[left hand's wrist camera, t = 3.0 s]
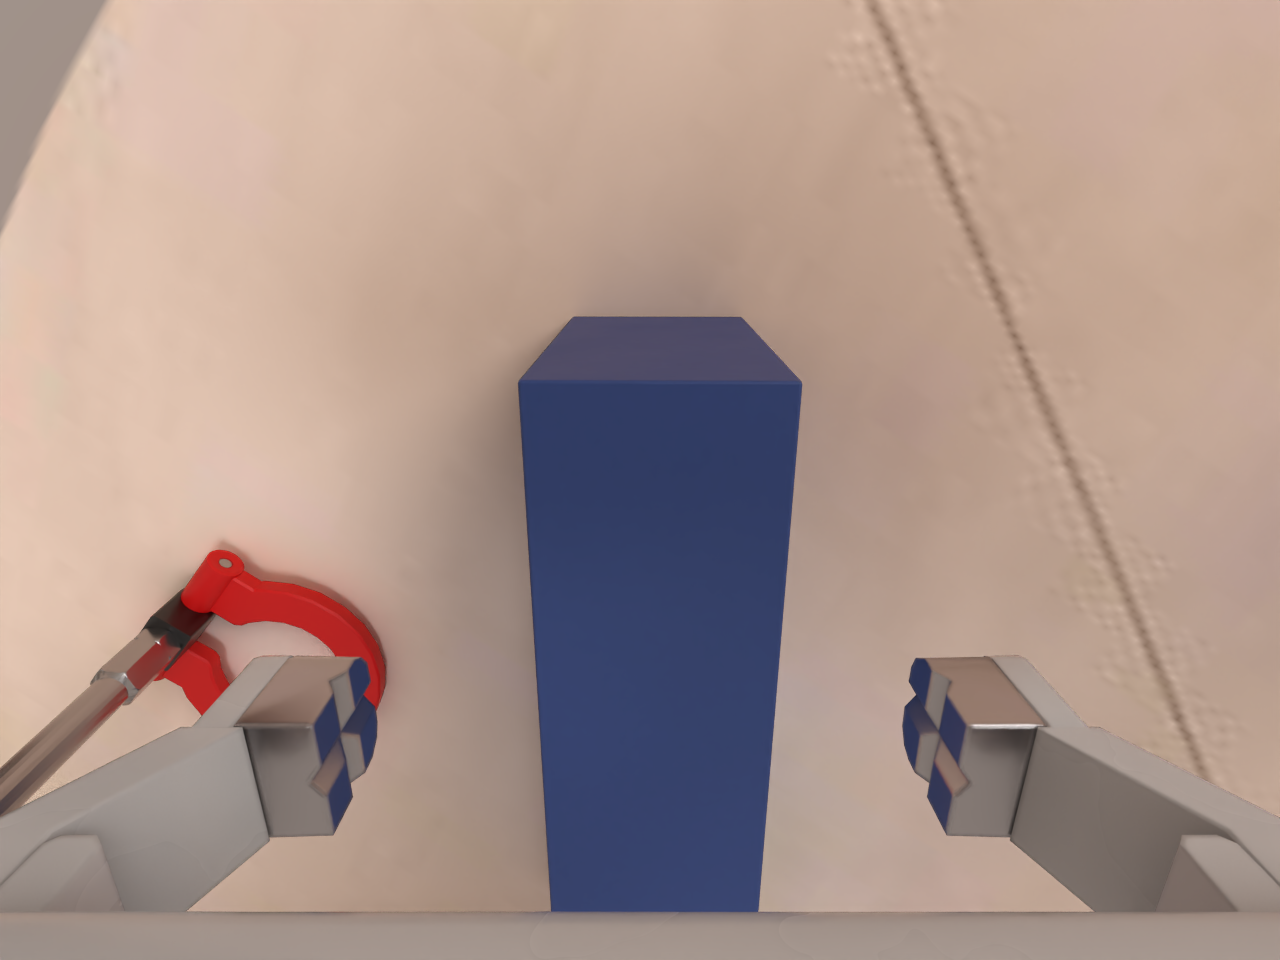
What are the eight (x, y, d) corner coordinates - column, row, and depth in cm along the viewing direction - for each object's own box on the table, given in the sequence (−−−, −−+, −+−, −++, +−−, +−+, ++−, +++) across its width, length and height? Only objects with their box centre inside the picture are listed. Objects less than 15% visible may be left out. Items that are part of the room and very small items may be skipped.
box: (572, 316, 25) (517, 380, 15) (742, 316, 24) (803, 381, 15) (591, 889, 34) (566, 1160, 24) (713, 891, 34) (737, 1164, 24)
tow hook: (426, 649, 30) (230, 525, 27) (291, 954, 18) (-78, 781, 15) (325, 764, 32) (136, 659, 30) (146, 1101, 20) (-193, 971, 18)
